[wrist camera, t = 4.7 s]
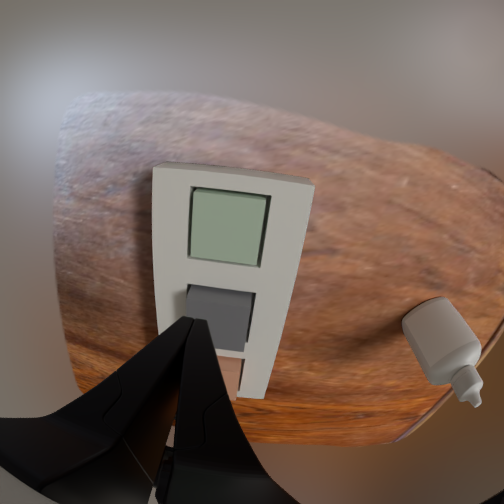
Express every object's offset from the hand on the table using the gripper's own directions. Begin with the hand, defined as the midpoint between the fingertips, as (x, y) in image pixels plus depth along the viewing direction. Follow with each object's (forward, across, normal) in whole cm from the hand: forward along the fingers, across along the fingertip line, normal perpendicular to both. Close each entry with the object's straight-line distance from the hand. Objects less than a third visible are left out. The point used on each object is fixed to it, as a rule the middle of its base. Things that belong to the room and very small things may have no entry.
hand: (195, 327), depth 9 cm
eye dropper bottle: (+12, -20, +7) cm, 24 cm away
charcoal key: (+10, 0, +7) cm, 12 cm away
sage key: (+11, 0, 0) cm, 11 cm away
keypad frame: (+12, 0, +7) cm, 14 cm away
